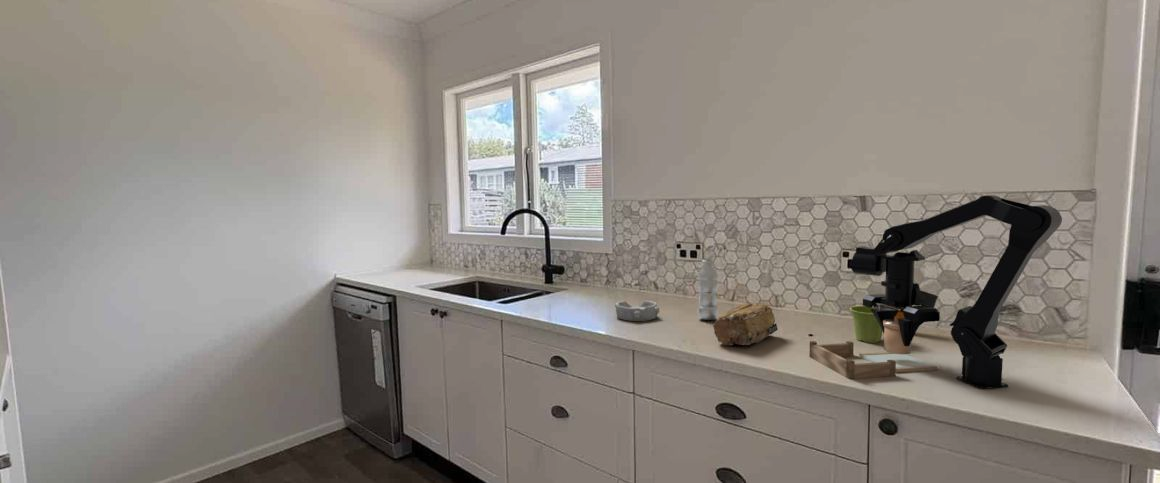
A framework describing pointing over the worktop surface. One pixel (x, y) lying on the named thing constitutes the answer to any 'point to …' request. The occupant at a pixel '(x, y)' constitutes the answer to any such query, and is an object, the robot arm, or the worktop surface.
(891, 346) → the terracotta pot
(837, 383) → the worktop surface
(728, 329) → the petrified wood
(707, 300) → the plastic bottle
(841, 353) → the frame
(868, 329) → the plant pot
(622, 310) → the dish
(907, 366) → the lid pane
